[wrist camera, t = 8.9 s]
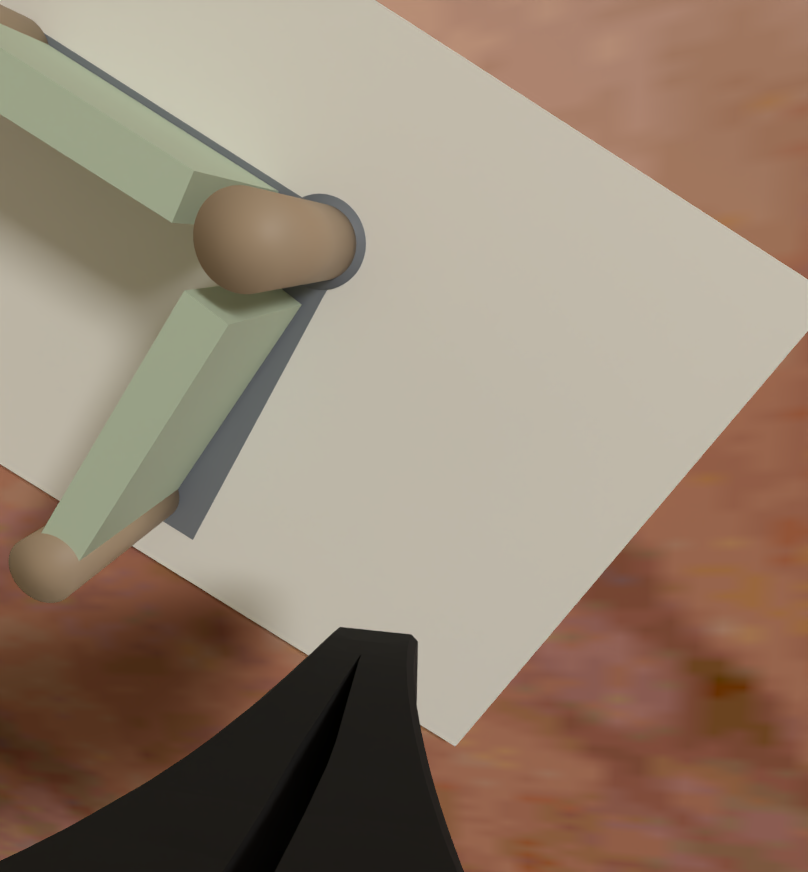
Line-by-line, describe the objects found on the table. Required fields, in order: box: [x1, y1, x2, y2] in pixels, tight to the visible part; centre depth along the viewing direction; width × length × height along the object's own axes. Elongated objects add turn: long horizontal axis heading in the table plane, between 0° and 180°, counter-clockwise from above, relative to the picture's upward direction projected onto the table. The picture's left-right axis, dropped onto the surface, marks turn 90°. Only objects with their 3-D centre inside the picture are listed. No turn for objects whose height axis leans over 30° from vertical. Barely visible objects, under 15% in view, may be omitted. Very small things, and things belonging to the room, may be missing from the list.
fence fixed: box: [0, 4, 356, 294], centre depth 11 cm, size 2×9×4 cm, turn 60°
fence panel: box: [9, 286, 302, 603], centre depth 13 cm, size 1×7×4 cm, turn 143°
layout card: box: [0, 0, 808, 746], centre depth 15 cm, size 14×18×1 cm
